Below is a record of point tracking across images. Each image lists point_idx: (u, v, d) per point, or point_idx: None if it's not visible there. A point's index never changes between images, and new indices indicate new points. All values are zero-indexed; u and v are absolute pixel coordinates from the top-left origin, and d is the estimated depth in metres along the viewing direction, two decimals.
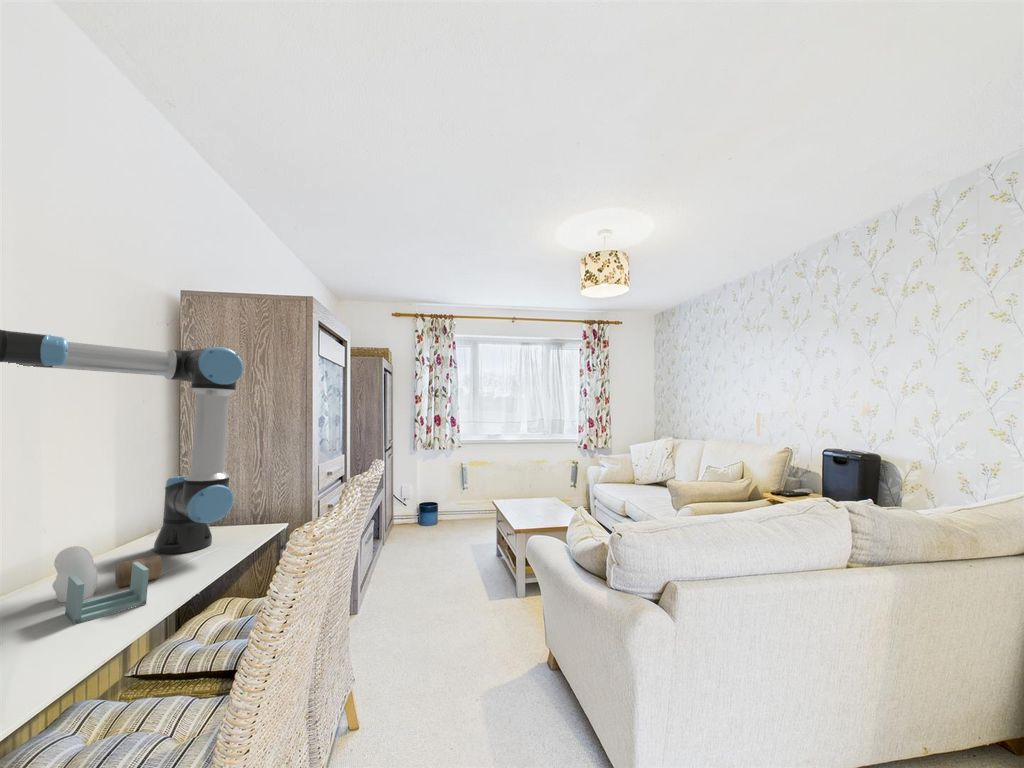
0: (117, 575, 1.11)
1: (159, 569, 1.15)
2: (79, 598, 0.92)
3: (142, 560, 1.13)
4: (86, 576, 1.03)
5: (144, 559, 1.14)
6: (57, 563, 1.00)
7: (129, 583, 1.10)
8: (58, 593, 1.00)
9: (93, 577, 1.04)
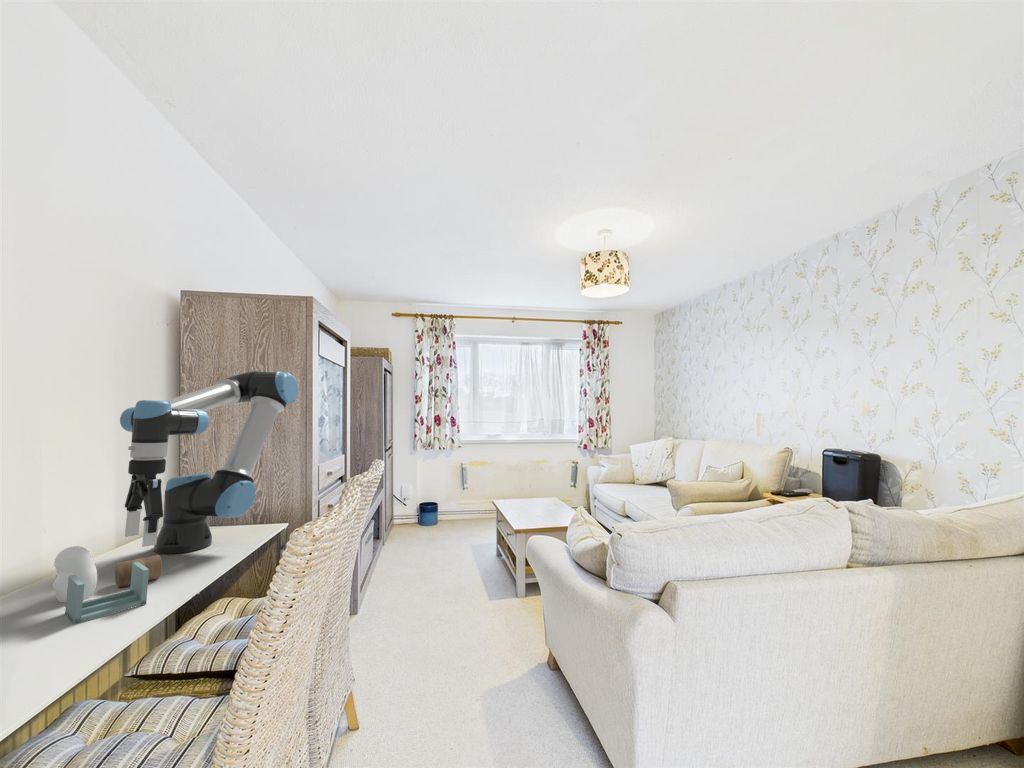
0: (117, 575, 1.11)
1: (159, 569, 1.15)
2: (79, 598, 0.92)
3: (142, 560, 1.13)
4: (86, 576, 1.03)
5: (144, 559, 1.14)
6: (57, 563, 1.00)
7: (129, 583, 1.10)
8: (58, 593, 1.00)
9: (93, 577, 1.04)
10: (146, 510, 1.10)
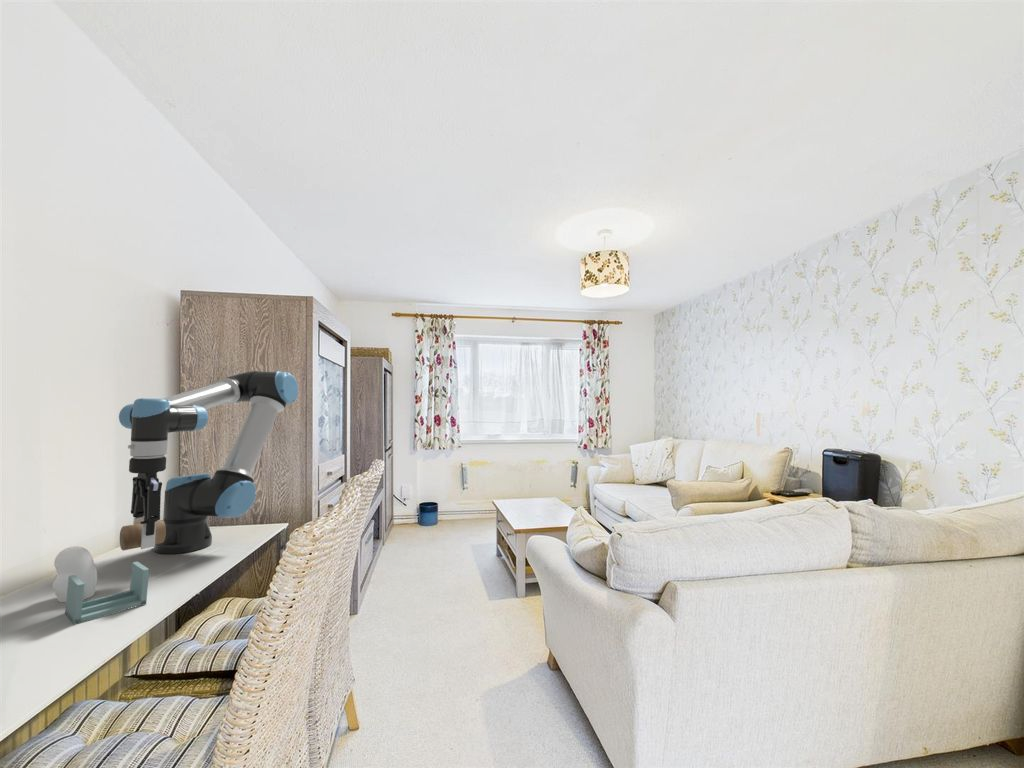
0: (121, 538, 1.12)
1: (163, 534, 1.15)
2: (79, 598, 0.92)
3: None
4: (86, 576, 1.03)
5: None
6: (57, 563, 1.00)
7: (133, 546, 1.11)
8: (58, 593, 1.00)
9: (93, 577, 1.04)
10: (144, 512, 1.12)
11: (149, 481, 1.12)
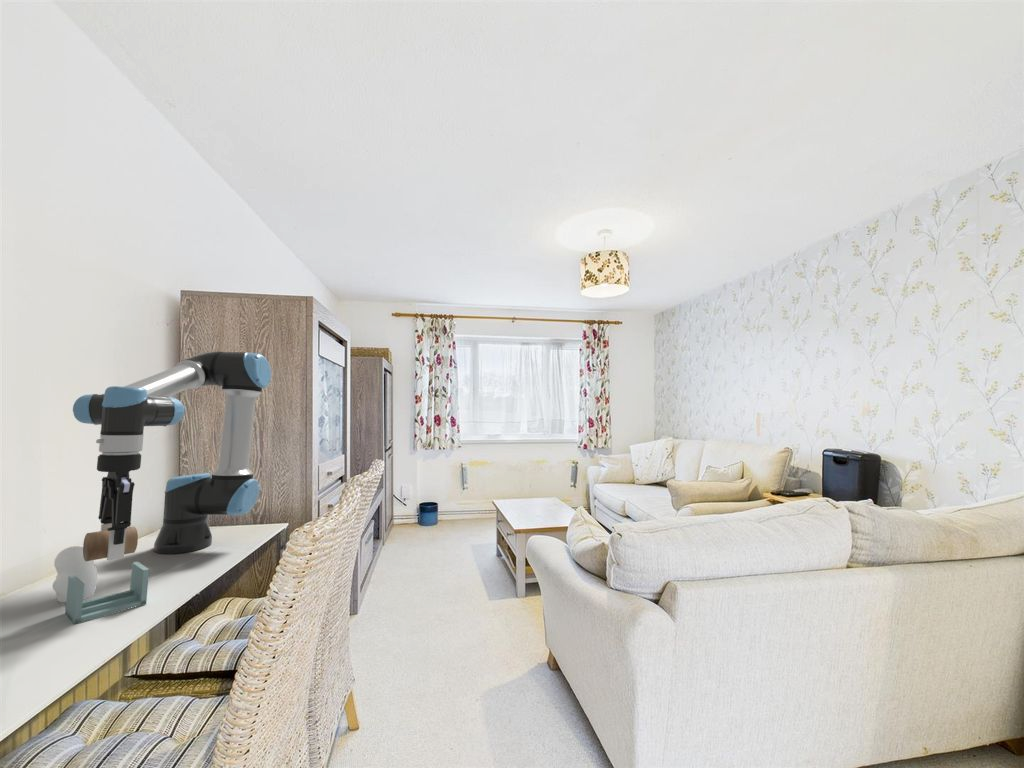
0: (85, 547, 0.96)
1: (134, 542, 1.00)
2: (79, 598, 0.92)
3: None
4: (86, 576, 1.03)
5: None
6: (57, 563, 1.00)
7: (98, 556, 0.96)
8: (58, 593, 1.00)
9: (93, 577, 1.04)
10: (113, 517, 0.97)
11: (119, 481, 0.97)
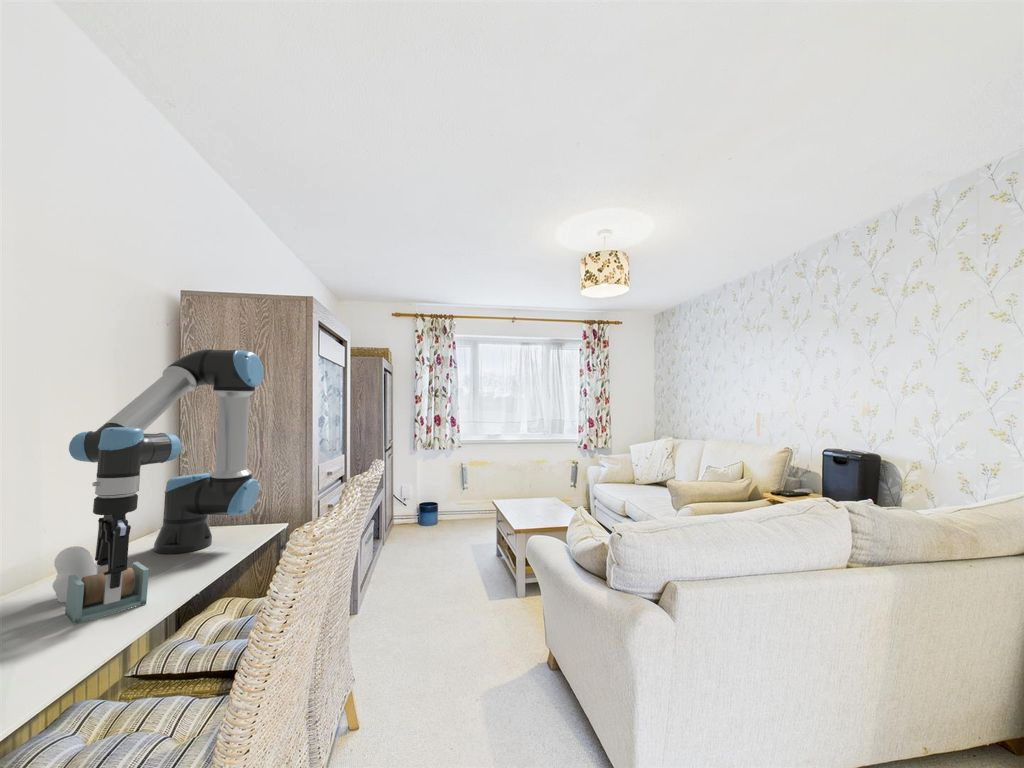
0: None
1: (131, 584, 1.00)
2: (79, 598, 0.92)
3: None
4: None
5: None
6: (57, 563, 1.00)
7: (94, 601, 0.95)
8: (58, 593, 1.00)
9: None
10: (109, 561, 0.96)
11: (116, 524, 0.97)
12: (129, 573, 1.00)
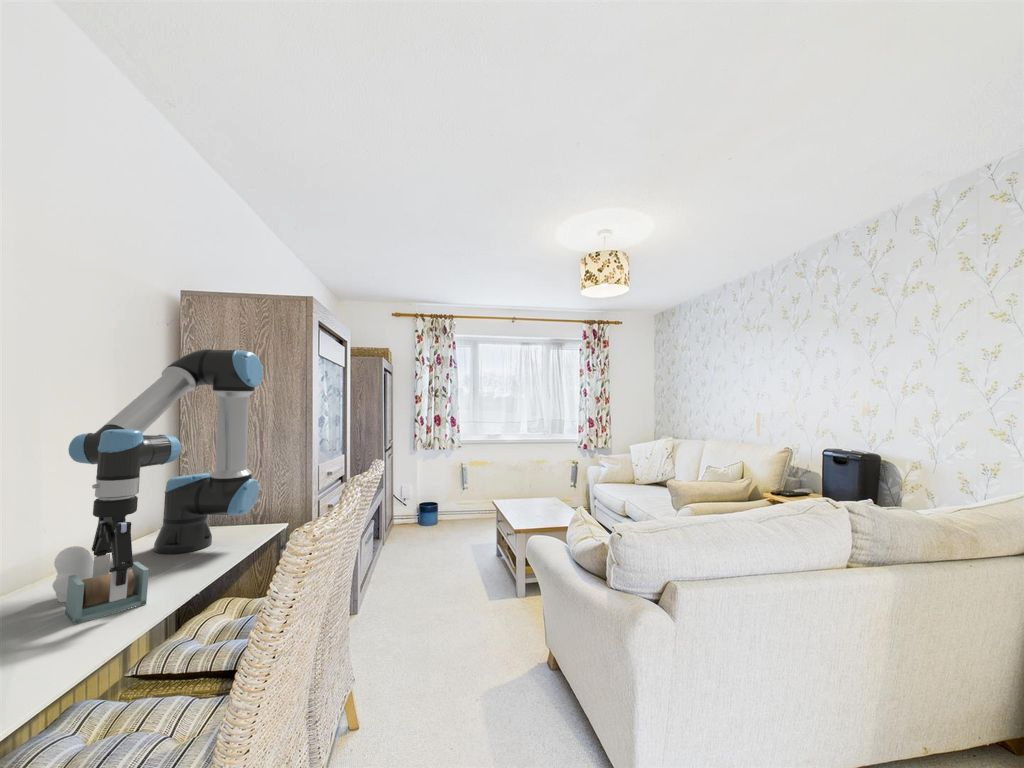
0: None
1: (131, 586, 1.00)
2: (79, 598, 0.92)
3: None
4: (86, 576, 1.03)
5: None
6: (57, 563, 1.00)
7: (95, 603, 0.95)
8: (58, 593, 1.00)
9: None
10: (113, 559, 0.95)
11: (116, 524, 0.97)
12: (129, 575, 1.00)
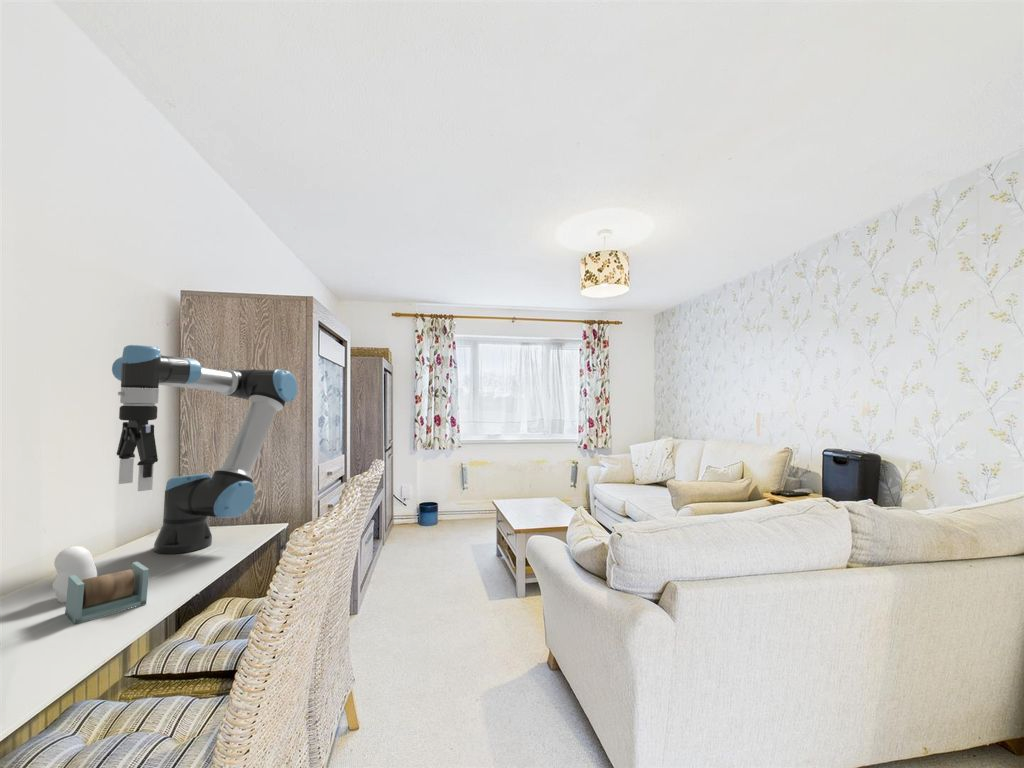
0: None
1: (131, 586, 1.00)
2: (79, 598, 0.92)
3: (111, 576, 0.98)
4: (86, 576, 1.03)
5: (113, 575, 0.99)
6: (57, 563, 1.00)
7: (95, 603, 0.95)
8: (58, 593, 1.00)
9: None
10: (140, 455, 1.08)
11: None
12: (129, 575, 1.00)
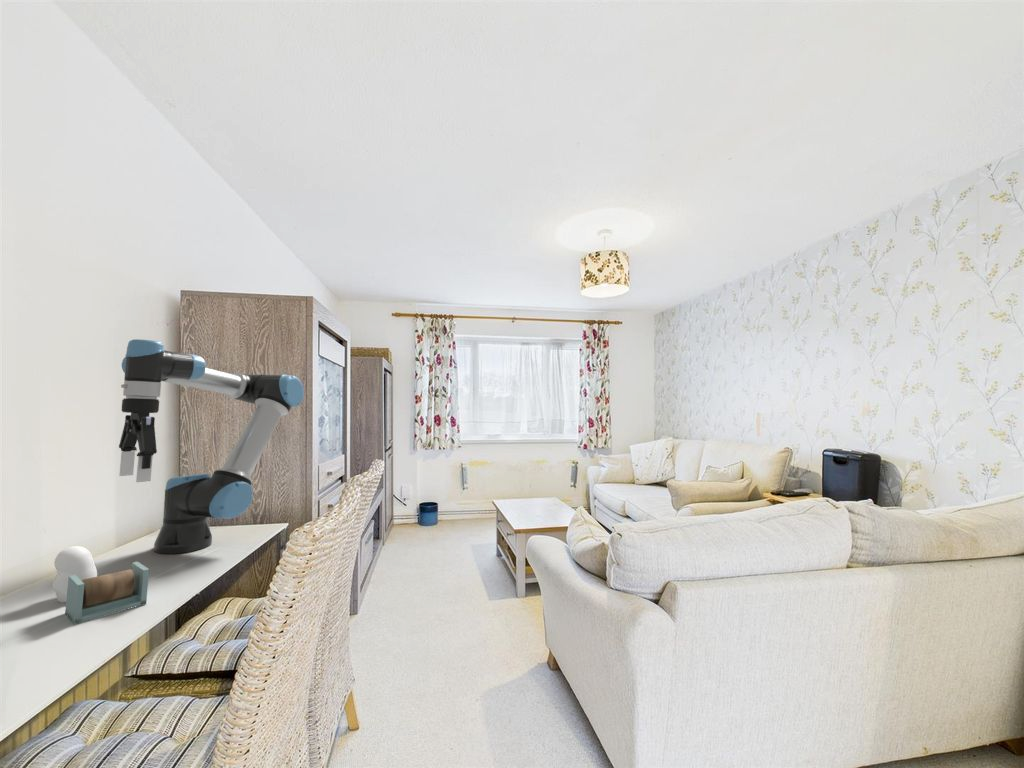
0: None
1: (131, 586, 1.00)
2: (79, 598, 0.92)
3: (111, 576, 0.98)
4: (86, 576, 1.03)
5: (113, 575, 0.99)
6: (57, 563, 1.00)
7: (95, 603, 0.95)
8: (58, 593, 1.00)
9: None
10: (140, 446, 1.10)
11: None
12: (129, 575, 1.00)
